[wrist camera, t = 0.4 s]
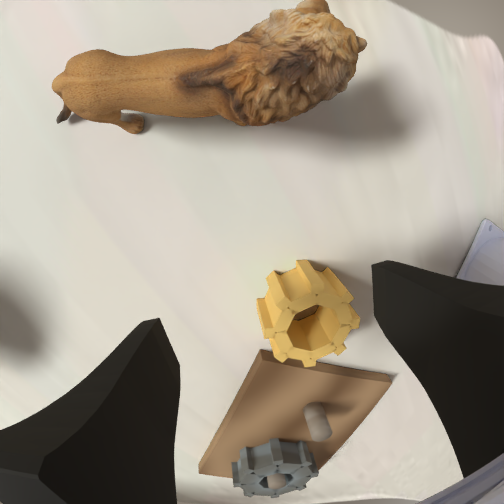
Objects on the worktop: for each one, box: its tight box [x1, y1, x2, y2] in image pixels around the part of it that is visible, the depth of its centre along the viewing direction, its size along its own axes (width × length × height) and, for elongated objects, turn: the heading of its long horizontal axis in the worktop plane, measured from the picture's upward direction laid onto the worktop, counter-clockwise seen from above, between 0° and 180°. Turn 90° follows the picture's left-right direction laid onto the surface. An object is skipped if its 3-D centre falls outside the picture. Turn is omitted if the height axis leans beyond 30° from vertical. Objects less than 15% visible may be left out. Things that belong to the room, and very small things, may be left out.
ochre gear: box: [257, 260, 360, 367], centre depth 20 cm, size 6×6×4 cm
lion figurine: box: [52, 0, 367, 134], centre depth 12 cm, size 15×5×9 cm, turn 97°
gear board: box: [199, 350, 392, 498], centre depth 24 cm, size 12×16×4 cm
